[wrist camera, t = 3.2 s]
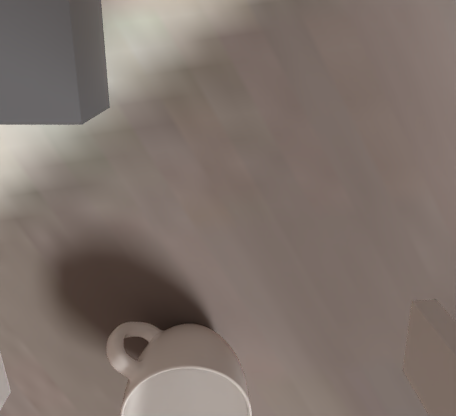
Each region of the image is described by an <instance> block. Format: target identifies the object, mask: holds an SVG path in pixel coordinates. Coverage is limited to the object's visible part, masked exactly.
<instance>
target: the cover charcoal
mask: <svg viewBox="0 0 456 416" xmlns="http://www.w3.org/2000/svg"><path fill="white" fill-rule="evenodd" d="M108 108H110V106H109V94H108V82H107V69H106V57H105V45H104V32H103V20H102V8H101V0H0V124H83V123H85V122H87V121H88V120H90V119H92V118H93V117H95V116H96V115H98V114H100V113H101V112H103V111H105V110H106V109H108Z"/></svg>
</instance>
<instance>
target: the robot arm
mask: <svg viewBox="0 0 456 416" xmlns="http://www.w3.org/2000/svg"><path fill="white" fill-rule="evenodd" d="M403 372H404V374H405V376H406V377H407V379H408V381H409V382H410V384H411V386H412V388H413V389H414V391H415V393H416V394H417V396H418V398H419V399H420V401H421V403H422V405H423V406H424V408H425V410H426V411H427V413H428V415H429V416H456V321H455V320H454V319H453V318H452V317H451V316H450V315H449V314H448V312H447V311H446V310H445V309H444V308H443V307H442V306H441V305H440V303H439V302H438V301H437V300H436V299H433V300H413V301H412V304H411V311H410V319H409V326H408V334H407V341H406V349H405V356H404V364H403ZM10 392H11V390H10V386H9V382H8V379H7V375H6V371H5V367H4V364H3V360H2V356H1V352H0V410H1V408H2V406H3V404H4V403H5V401H6V399H7V398H8V396H9V394H10Z"/></svg>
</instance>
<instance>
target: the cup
mask: <svg viewBox="0 0 456 416" xmlns="http://www.w3.org/2000/svg"><path fill="white" fill-rule="evenodd" d="M128 337H142V338H144V339H146V340H147V341H148V345H147V346H146V347H145V349H144V350H143V351H142V353H141V354H140V356H139V357H138V359H137V360H135V359H133V358H132V357H130V356H129V355H128V354H127V353H126V351H125V349H124V338H128ZM106 350H107V357H108V360H109V362H110V364H111V365H112V367H113V368H114V369H115V370H116V371H118V372H119V373H120V374H122V375H123V376H125V377H126V378H128V382H127V385H126V389H125V393H124V397H123V402H122V406H121V411H120V416H252V412H251V404H250V397H249V391H248V386H247V381H246V377H245V374H244V371H243V368H242V366H241V363H240V361H239V359H238V357H237V356H236V354H235V352H234V351H233V349H232V348H231V347H230V345H229V344H228V343H227V342H226V341H225V340H224V339H223V338H222V337H221V336H220V335H219V334H217V333H216V332H214V331H213V330H211V329H209V328H207V327H205V326H202V325H199V324H194V323H185V324H180V325H176V326H173V327H171V328H169V329H166V330H161V329H159V328H157V327H156V326H154V325H152V324H149V323H145V322H126V323H123V324H121V325H119V326H118V327H116V328H115V329H114V330H113V332H112V333H111V334H110V335H109V337H108V340H107V347H106Z"/></svg>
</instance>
